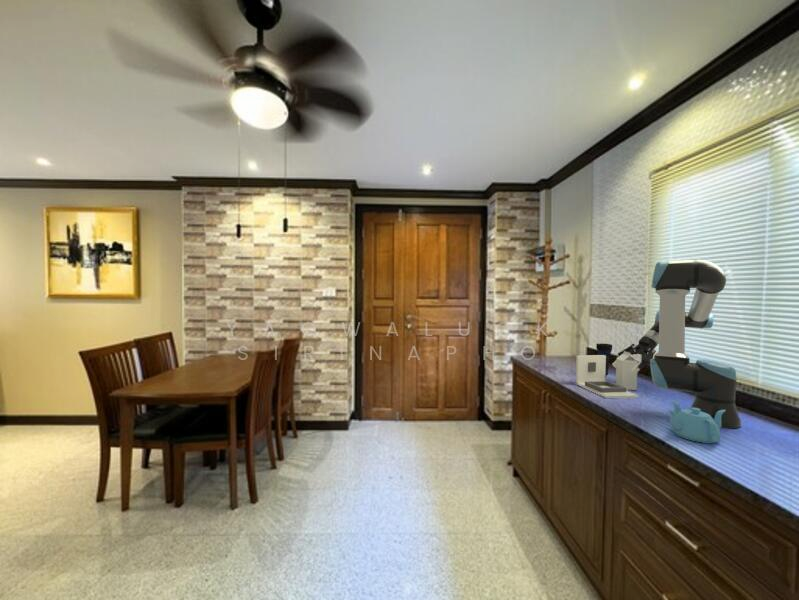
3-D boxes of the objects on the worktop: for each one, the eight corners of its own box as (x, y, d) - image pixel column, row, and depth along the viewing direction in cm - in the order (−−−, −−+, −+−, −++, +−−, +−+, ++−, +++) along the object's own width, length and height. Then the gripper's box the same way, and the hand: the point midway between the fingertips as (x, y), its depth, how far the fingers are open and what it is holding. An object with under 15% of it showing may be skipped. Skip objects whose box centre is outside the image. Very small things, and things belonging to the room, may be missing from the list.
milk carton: (621, 389, 180) (622, 353, 180) (615, 385, 187) (616, 350, 187) (636, 390, 179) (637, 353, 179) (630, 386, 186) (631, 351, 186)
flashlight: (594, 378, 203) (595, 344, 202) (597, 375, 209) (597, 342, 208) (609, 380, 198) (610, 345, 197) (612, 378, 204) (613, 344, 203)
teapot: (720, 451, 112) (721, 419, 111) (662, 436, 123) (663, 407, 122) (724, 438, 122) (726, 409, 121) (670, 425, 133) (672, 398, 132)
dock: (637, 397, 167) (638, 364, 166) (606, 398, 165) (607, 365, 164) (603, 384, 190) (603, 355, 190) (575, 384, 189) (576, 355, 188)
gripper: (675, 349, 172) (646, 380, 171) (636, 342, 197) (610, 368, 196) (666, 339, 171) (637, 369, 170) (627, 332, 196) (602, 359, 195)
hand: (623, 369), depth 183 cm, fingers open, 13 cm apart
